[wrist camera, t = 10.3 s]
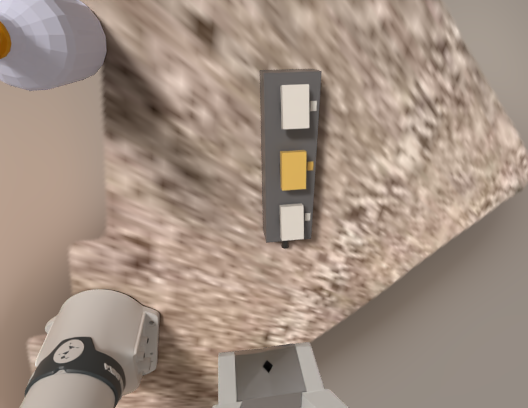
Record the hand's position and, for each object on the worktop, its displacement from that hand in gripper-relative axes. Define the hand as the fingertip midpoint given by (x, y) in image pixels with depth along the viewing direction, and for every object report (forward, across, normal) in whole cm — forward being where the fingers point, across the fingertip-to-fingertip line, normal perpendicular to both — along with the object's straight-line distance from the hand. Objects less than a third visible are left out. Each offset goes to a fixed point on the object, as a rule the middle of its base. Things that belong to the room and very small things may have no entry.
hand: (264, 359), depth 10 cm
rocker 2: (+32, +8, -6) cm, 34 cm away
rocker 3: (+32, +8, -14) cm, 36 cm away
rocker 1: (+32, +8, +2) cm, 34 cm away
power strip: (+37, +8, -7) cm, 39 cm away
